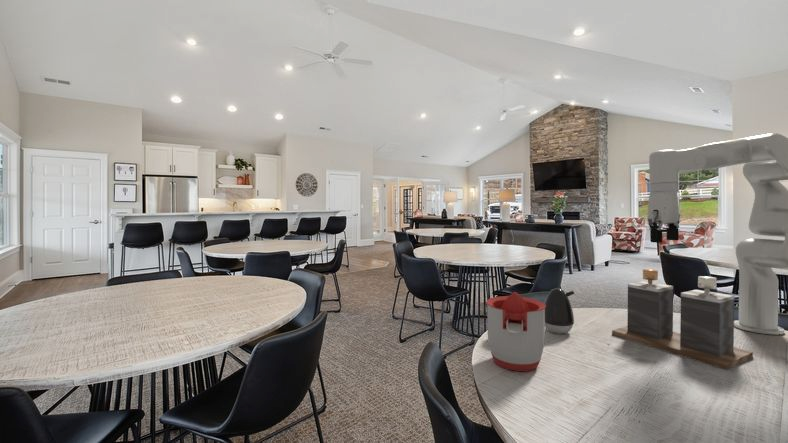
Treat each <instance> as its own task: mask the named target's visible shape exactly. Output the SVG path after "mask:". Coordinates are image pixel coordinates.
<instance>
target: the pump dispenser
mask: <svg viewBox="0 0 788 443" xmlns="http://www.w3.org/2000/svg"><path fill="white" fill-rule="evenodd" d="M572 295H575V291H574V290H571V291H568V292H565V290H563V289H562V288H559V287H556V288H553V289H551V290H550V291H549V292H548V294H547V296H546V298H545V299H544V302H543V303H544V304H545V305H546V308H545V330H547V331H549V332H550V331H551V332H550V333H553V334H557V333H558V334H557V335H564V334H567V333H569V332H570V331H571V330H572V328H573V325H574V324H575V317H574V316H575V315H574V310H573V307H572V303H571V301H570V299H569V297H571V296H572Z"/></svg>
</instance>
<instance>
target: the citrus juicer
mask: <svg viewBox="0 0 788 443" xmlns="http://www.w3.org/2000/svg"><path fill="white" fill-rule="evenodd" d="M485 303H486V307H487V310H486V311H487V314H486V316H487V318H486V319H487V341H488V345H489V350H490V354H491V357H492V360H493V361H494V363H495V364H496V365H497V366H499V367H500V368H504V369H506V370H510V371H511V370H512V371H518V372H531V371H532V370H534V369H536V368H538V367H539V364H540V363H541V362H540V361H541V359H542V355H543V352H544V348H545V347H544V346H545V335H546V333H545V330H546V327H545V308H546V305H545V304H544V303H545V302H543V301H540V300H537V299H534V298H530V297H529V298H528V297H524V296H521V295H520V294H519V293H518V292H516V291H514V292H513V293H512V292H511V294H510V295H509V296H505V295H504V296H495V297H491V298H488V299H487V300H486V302H485Z"/></svg>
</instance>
